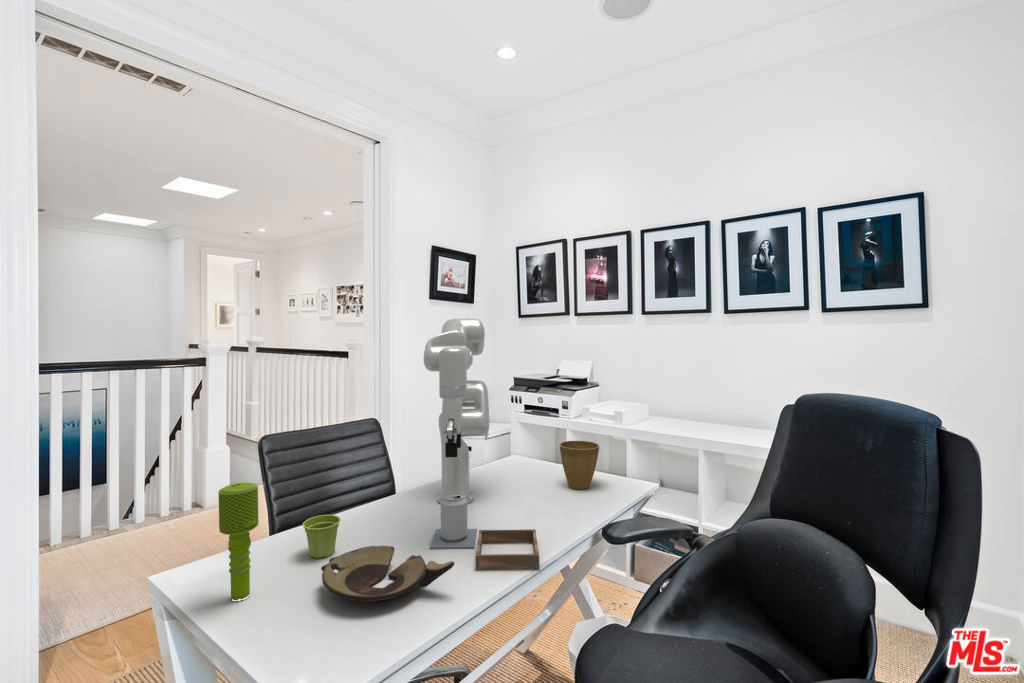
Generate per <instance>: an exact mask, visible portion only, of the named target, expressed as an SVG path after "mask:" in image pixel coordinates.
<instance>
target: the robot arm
mask: <svg viewBox="0 0 1024 683" xmlns="http://www.w3.org/2000/svg"><path fill="white" fill-rule="evenodd" d="M441 328H442V329H441V333H440V334H437V335H436V336H432V337H431V338H430V339H428V340H427V342H426V343H425V346H424V351H423V364H424V367H425V369H426V370H428V371H430V372H438V377H439V378H438V381H439V387H438V388H439V391H438V392H439V394H438V396H439V398H440V399H442V405H441V413H440V414H439V416H438V428H439V429H438V430H439V435H440V444H441V445H440V446H441V448H440V449H441V450H440V451H441V493H440V494H439V495H437V502H438V503H439V504H440V502H441V500H442V499H443V495H444V494H446V493H450V492H460V493H463V494H464V495H465V498H466V499H467V505H468V504H469V503H473V501H474V500H475V496H474V494H473V493H472V492H470V449H469V446H468V444H467V443H466V442H465V441H464V440H463V438H465V437H481V436H482V437H484V436H485V435H487V434H488V433H489V430H490V408H489V406H490V405H489V393H488V392H489V391H488V386H487V385H486V384H487V383H485V381H482V380H471V379H470V380H468V379H467V378H468V376H467V374H468V373H467V372H468V371H467V370H469V368H471V366H472V365H473V362H474V361H473V360H474V356H479V355H481V354H482V353H483V352H484V348H485V336H486V333H485V332H486V331H485V327H484V324H483V322H482V321H481V320H480V319H479V318H478V319H477V318H450V319H448V320H446V321H445V322H444V323H443V325H442V327H441Z"/></svg>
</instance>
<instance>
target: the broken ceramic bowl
mask: <svg viewBox="0 0 1024 683" xmlns="http://www.w3.org/2000/svg"><path fill="white" fill-rule="evenodd" d="M394 554H395V547H394V546H392V545H391V546H388V545H371V546H364V547H359V548H357V549H353V550H350V551H347V552H344V553H342V554H339V555H338V556H333V557H331V558H330V559H329V560H328V563H326V564H324V565H321V568H320V569H321V571H322V573H321V581H322V584H323V586H324V587H325V589H326V590H327V591H328V592H330V593H332V594H333V595H336V596H338V597H340V598H345V599H348V600H352V601H356V602H357V601H358V602H378V601H379V602H380V601H383V600H389V599H393V598H396V597H398V596H400V595H403V594H405V593H407V592H409V591H411V590H413V589H414V588H425V587H427V586H429V585H431V584H432V583H433V582H434V581H436V580H437V579H439V578H440V577H441V576H443V575H444V574H446V573H447V572H448V571H449V570H451V569H452V568H453V567H454V566H455V561H453V560H452V561H451V560H450V561H447V562H445V563H438V562H436V561H434V560H430V561H428V562H427V563H426V562H425V559H424V558H423V557H422V556H421V555H417V556H416V555H414V554H412V555H411V556H409V558H407V559H406V560H405V561H404V562H402V563H401V564H400V565H398V566H397V567H395V568H394V569H393V570H392V571H391V572H389V573H388V571H389V569H390V566H391V562H392V560H393V556H394ZM335 571H337V572H335ZM387 573H388V575H387V577H388V579H392V580H394V581H392V582H389V583H390V584H389V583H388V584H387V585H386V586H384V587H374V585H375V584H377V583H379V582H380V581H382V580H383V579H384V578H385V577H386V574H387Z"/></svg>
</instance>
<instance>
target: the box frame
mask: <svg viewBox="0 0 1024 683" xmlns="http://www.w3.org/2000/svg"><path fill="white" fill-rule="evenodd" d="M476 544H477V545H476V552H475V571H512V570H514V571H516V570H517V571H518V570H519V571H521V570H528V571H529V570H537V571H538V570H540V553H539V546H538V545H539V544H538V539H537V530H536V528H535V529H479V530H478V538H477V543H476ZM483 544H485V545H486V544H487V545H489V544H491V545H492V544H496V545H497V544H498V545H499V544H503V545H504V544H532V547H533V549H532V550H533V553H515V554H514V553H510V554H509V553H507V554H505V553H500V554H497V553H496V554H493V553H492V554H491V553H490V554H482V547H483Z"/></svg>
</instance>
